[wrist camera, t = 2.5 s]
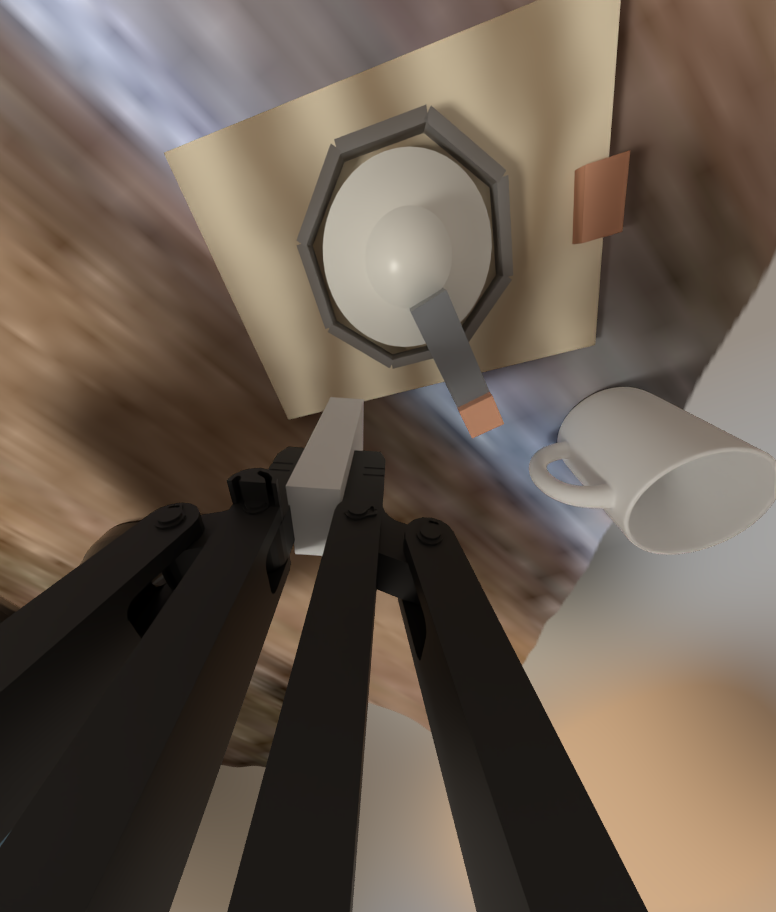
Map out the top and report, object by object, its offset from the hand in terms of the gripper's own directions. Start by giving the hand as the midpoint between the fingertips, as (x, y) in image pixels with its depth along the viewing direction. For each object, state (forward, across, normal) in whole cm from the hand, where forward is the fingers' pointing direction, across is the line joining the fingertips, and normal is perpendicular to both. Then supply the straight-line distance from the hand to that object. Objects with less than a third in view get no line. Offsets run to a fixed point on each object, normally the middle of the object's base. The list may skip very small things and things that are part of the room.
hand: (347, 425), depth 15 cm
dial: (+11, +4, +5) cm, 12 cm away
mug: (+12, +19, -5) cm, 23 cm away
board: (+12, +2, +7) cm, 14 cm away
